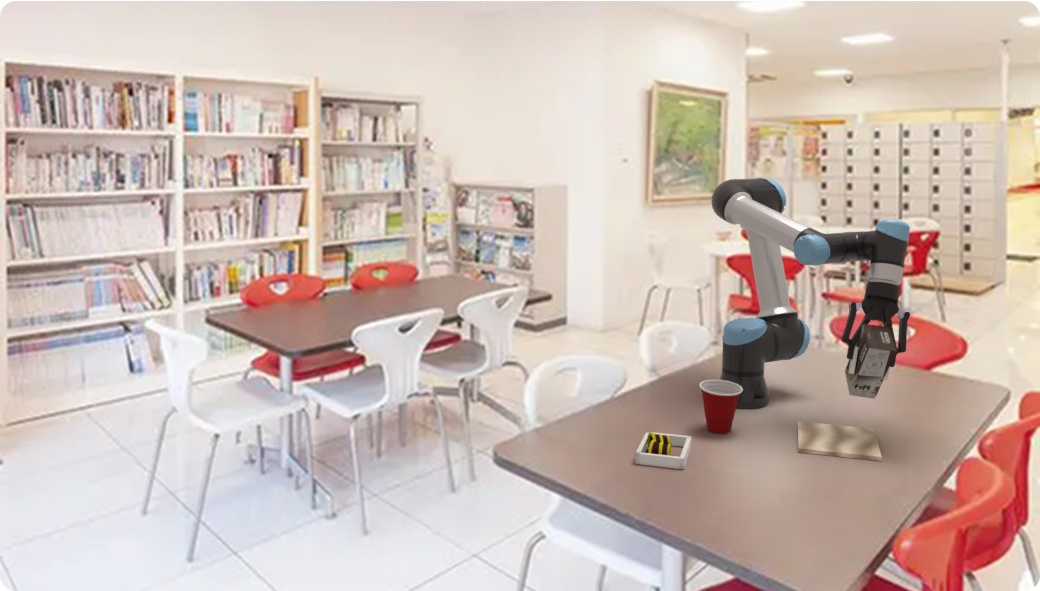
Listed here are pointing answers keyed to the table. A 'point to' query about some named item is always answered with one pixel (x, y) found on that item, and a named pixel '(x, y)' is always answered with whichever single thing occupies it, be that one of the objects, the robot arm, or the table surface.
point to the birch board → (838, 441)
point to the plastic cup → (720, 404)
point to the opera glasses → (658, 444)
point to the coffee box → (871, 361)
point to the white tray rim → (664, 459)
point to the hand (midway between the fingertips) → (867, 376)
